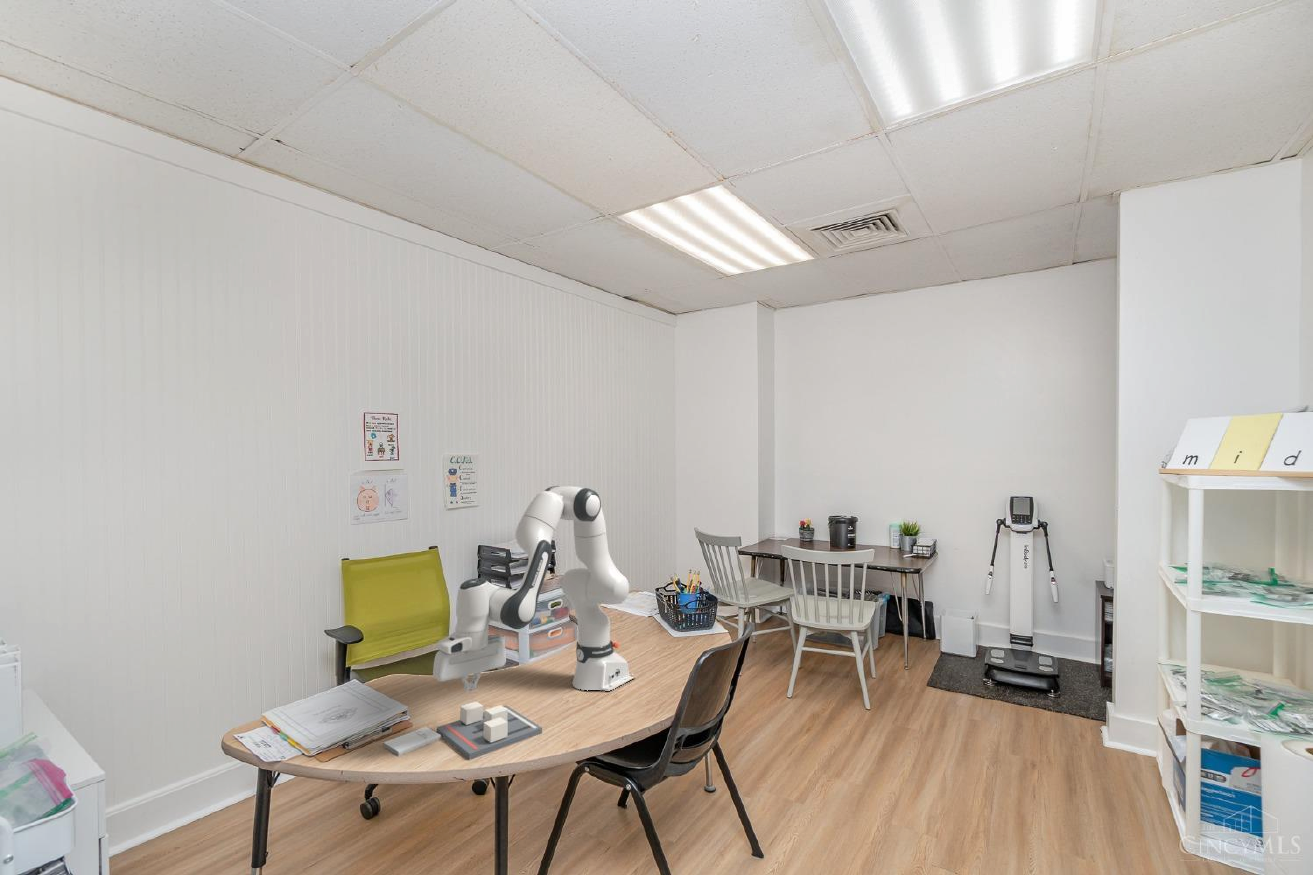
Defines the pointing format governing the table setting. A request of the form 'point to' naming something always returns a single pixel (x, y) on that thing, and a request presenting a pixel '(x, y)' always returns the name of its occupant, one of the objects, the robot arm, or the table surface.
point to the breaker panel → (471, 735)
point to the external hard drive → (411, 741)
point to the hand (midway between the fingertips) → (470, 689)
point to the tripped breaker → (496, 713)
